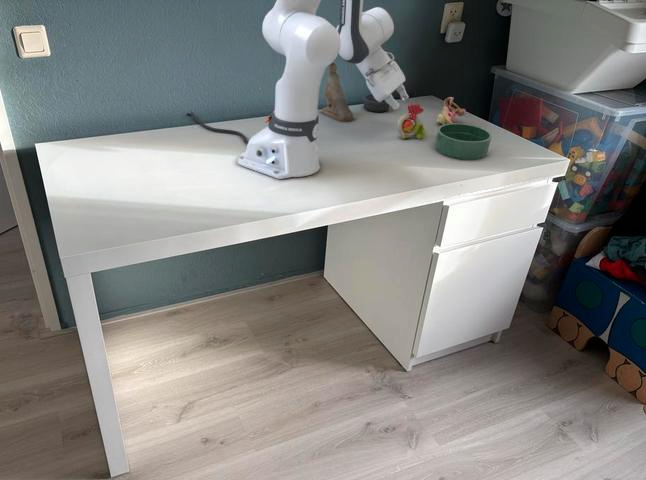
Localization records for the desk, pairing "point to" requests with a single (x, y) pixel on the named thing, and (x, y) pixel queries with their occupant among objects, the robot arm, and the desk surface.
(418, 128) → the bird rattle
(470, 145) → the bowl
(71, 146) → the desk surface
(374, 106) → the smart speaker
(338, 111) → the worn brown figurine
